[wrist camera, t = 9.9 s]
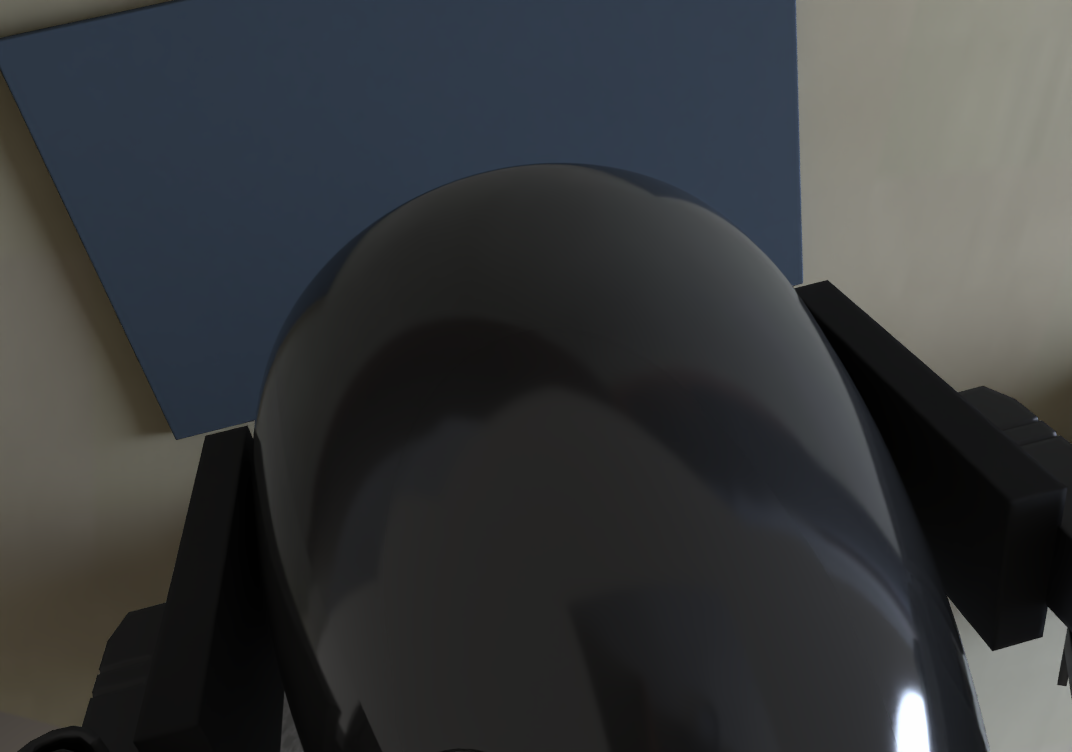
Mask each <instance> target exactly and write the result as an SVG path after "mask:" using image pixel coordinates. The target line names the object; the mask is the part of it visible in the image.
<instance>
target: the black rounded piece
mask: <svg viewBox="0 0 1072 752" xmlns="http://www.w3.org/2000/svg"><path fill="white" fill-rule="evenodd" d="M252 480H253V498H254V512H255V524H256V535H257V545H258V554H259V563H260V571H261V578H262V586H263V593H264V599H265V605H266V611H267V617H268V622H269V627H270V632H271V637H272V642H273V646H274V651H275V655H276V660H277V664H278V668H279V672H280V676H281V680H282V683H283V687H284V691H285V694H286V698H287V701H288V705H289V708H290V712H291V715H292V719H293V722H294V725H295V729H296V732H297V735H298V738H299V741H300V744H301V747H302V751H303V752H990V747H989V743H988V738H987V734H986V730H985V725H984V721H983V717H982V713H981V709H980V705H979V701H978V697H977V693H976V690H975V686H974V682H973V678H972V675H971V671H970V668H969V664H968V661H967V657H966V654H965V651H964V647H963V644H962V641H961V638H960V634H959V631H958V628H957V625H956V622H955V619H954V616H953V613H952V610H951V607H950V604H949V601H948V598H947V595H946V593H945V590H944V587H943V584H942V581H941V579H940V576H939V573H938V570H937V568H936V565H935V562H934V559H933V557H932V554H931V552H930V549H929V546H928V544H927V541H926V539H925V536H924V533H923V531H922V528H921V526H920V523H919V521H918V518H917V516H916V513H915V511H914V508H913V506H912V503H911V501H910V498H909V496H908V494H907V491H906V489H905V486H904V484H903V482H902V479H901V477H900V475H899V472H898V470H897V468H896V466H895V463H894V461H893V459H892V457H891V455H890V453H889V450H888V448H887V446H886V444H885V442H884V440H883V438H882V436H881V434H880V432H879V430H878V427H877V425H876V423H875V421H874V419H873V417H872V415H871V413H870V412H869V410H868V408H867V406H866V404H865V402H864V400H863V399H862V397H861V395H860V393H859V391H858V389H857V388H856V386H855V384H854V382H853V381H852V379H851V377H850V375H849V374H848V372H847V370H846V368H845V367H844V365H843V363H842V362H841V360H840V358H839V357H838V355H837V353H836V352H835V350H834V349H833V347H832V345H831V344H830V342H829V340H828V339H827V337H826V336H825V334H824V333H823V331H822V329H821V328H820V326H819V325H818V323H817V322H816V320H815V319H814V317H813V315H812V314H811V312H810V311H809V309H808V308H807V306H806V305H805V303H804V302H803V300H802V299H801V297H800V296H799V295H798V293H797V292H796V290H795V289H794V288H793V286H792V285H791V284H790V282H789V281H788V280H787V278H786V277H785V276H784V275H783V273H782V272H781V271H780V270H779V269H778V267H777V266H776V265H775V264H774V263H773V262H772V260H771V259H770V258H769V257H768V256H767V255H766V254H765V253H764V252H763V251H762V250H761V249H760V248H759V247H758V245H757V244H756V243H755V242H753V241H752V240H751V239H750V238H749V237H748V236H747V235H746V234H745V233H744V232H743V231H742V230H741V229H740V228H738V227H737V226H736V225H735V224H734V223H733V222H731V221H730V220H729V219H728V218H726V217H725V216H724V215H722V214H721V213H720V212H718V211H717V210H716V209H714V208H713V207H711V206H710V205H708V204H707V203H705V202H703V201H702V200H700V199H698V198H697V197H695V196H693V195H691V194H689V193H688V192H686V191H684V190H682V189H680V188H677V187H675V186H673V185H671V184H668V183H666V182H663V181H661V180H658V179H655V178H653V177H649V176H646V175H643V174H640V173H636V172H632V171H628V170H624V169H619V168H614V167H608V166H601V165H594V164H583V163H537V164H526V165H518V166H511V167H505V168H500V169H495V170H490V171H486V172H482V173H478V174H474V175H471V176H468V177H465V178H461V179H458V180H455V181H453V182H450V183H447V184H444V185H442V186H439V187H437V188H435V189H432V190H430V191H427V192H425V193H423V194H421V195H419V196H417V197H415V198H413V199H411V200H409V201H407V202H405V203H403V204H402V205H400V206H398V207H397V208H395V209H393V210H392V211H390V212H388V213H387V214H385V215H384V216H382V217H381V218H379V219H378V220H376V221H375V222H373V223H372V224H371V225H369V226H368V227H366V228H365V229H364V230H362V231H361V232H360V233H359V234H357V235H356V236H355V237H354V238H353V239H351V240H350V241H349V242H348V243H347V244H346V245H345V246H344V247H342V248H341V249H340V250H339V251H338V252H337V253H336V254H335V255H334V256H333V257H332V258H331V259H330V260H329V261H328V262H327V263H326V264H325V265H324V267H323V268H322V269H321V270H320V271H319V272H318V273H317V275H316V276H315V277H314V278H313V279H312V281H311V282H310V283H309V284H308V286H307V287H306V289H305V290H304V291H303V293H302V294H301V295H300V297H299V299H298V300H297V302H296V303H295V305H294V306H293V308H292V310H291V311H290V313H289V315H288V316H287V318H286V320H285V322H284V324H283V326H282V328H281V330H280V332H279V334H278V336H277V339H276V341H275V343H274V346H273V348H272V351H271V354H270V356H269V359H268V362H267V365H266V369H265V372H264V376H263V380H262V384H261V388H260V393H259V399H258V404H257V410H256V418H255V427H254V437H253V453H252Z"/></svg>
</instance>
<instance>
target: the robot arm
mask: <svg viewBox="0 0 1072 752" xmlns="http://www.w3.org/2000/svg"><path fill="white" fill-rule="evenodd" d="M794 289H795V290H796V292H797V293H798V295H799V296H800V297H801V299H802V300H803V302H804V303H805V305H806V306H807V308H808V309H809V311H810V312H811V314H812V315H813V317H814V319H815V320H816V322H817V323H818V325H819V326H820V328H821V329H822V331H823V333H824V334H825V336H826V337H827V339H828V340H829V342H830V344H831V345H832V347H833V349H834V350H835V352H836V353H837V355H838V357H839V358H840V360H841V362H842V363H843V365H844V367H845V368H846V370H847V372H848V374H849V375H850V377H851V379H852V381H853V382H854V384H855V386H856V388H857V389H858V391H859V393H860V395H861V397H862V399H863V400H864V402H865V404H866V406H867V408H868V410H869V412H870V413H871V415H872V417H873V419H874V421H875V423H876V425H877V427H878V430H879V432H880V434H881V436H882V438H883V440H884V442H885V444H886V446H887V448H888V450H889V453H890V455H891V457H892V459H893V461H894V463H895V466H896V468H897V470H898V472H899V475H900V477H901V479H902V482H903V484H904V486H905V489H906V491H907V494H908V496H909V498H910V501H911V503H912V506H913V508H914V511H915V513H916V516H917V518H918V521H919V523H920V526H921V528H922V531H923V533H924V536H925V539H926V541H927V544H928V546H929V549H930V552H931V554H932V557H933V559H934V562H935V565H936V568H937V570H938V573H939V576H940V579H941V581H942V584H943V587H944V590H945V593H946V595H947V596H948V597H949V599H950V600H951V601H952V602H953V604H954V605H955V606H956V607H957V608H958V610H959V611H960V612H961V613H962V615H963V616H964V617H965V618H966V619H967V621H968V622H969V623H970V624H971V625H972V627H973V628H974V629H975V630H976V632H977V633H978V634H979V635H980V636H981V638H982V639H983V640H984V641H985V642H986V644H987V645H988V646H989V647H990V649H991V650H992V651H994V650H998V649H1002V648H1005V647H1009V646H1012V645H1016V644H1019V643H1023V642H1026V641H1030V640H1033V639H1037V638H1040V637H1043V631H1044V625H1045V619H1046V613H1047V607H1049V608H1050V609H1051V610H1052V611H1053V612H1054V613H1055V615H1056V616H1057V617H1058V618H1059V619H1060V620H1061V621H1062V622H1063V623H1064V624H1065V625H1066V626H1067V627H1068V628H1067V634H1066V639H1065V644H1064V650H1063V655H1062V660H1061V666H1060V671H1059V677H1058V684H1057V685H1062V686H1067V681H1068V677H1069V684H1070V691H1071V698H1072V444H1071V443H1069V442H1068V441H1067V440H1066V439H1064V438H1063V437H1062V436H1057V434H1056V431H1054V430H1053V429H1052V428H1051V427H1049V426H1048V425H1047V424H1046V423H1044V422H1043V421H1039V420H1038V417H1037V416H1036V415H1034V414H1033V413H1032V412H1031V411H1029V410H1028V409H1027V408H1026V407H1024V406H1023V405H1022V404H1021V403H1019V402H1018V401H1017V400H1016V399H1014V398H1012V397H1009V396H1007V395H1004V394H1002V393H999V392H997V391H994V390H992V389H989V388H987V387H985V386H981V387H977V388H973V389H969V390H965V391H961V392H957V391H955V390H954V389H953V388H952V387H951V386H950V385H949V384H947V383H946V382H945V381H944V380H943V379H942V378H940V377H939V376H938V375H937V374H936V373H935V372H933V371H932V370H931V369H930V368H929V367H928V366H927V365H925V364H924V363H923V362H922V361H921V360H920V359H918V358H917V357H916V356H915V355H914V354H913V353H911V352H910V351H909V350H908V349H907V348H906V347H905V346H903V345H902V344H901V343H900V342H899V341H898V340H896V339H895V338H894V337H893V336H892V335H891V334H889V333H888V332H887V331H886V330H885V329H884V328H883V327H881V326H880V325H879V324H878V323H877V322H876V321H874V320H873V319H872V318H871V317H870V316H869V315H868V314H866V313H865V312H864V311H863V310H862V309H861V308H859V307H858V306H857V305H856V304H855V303H854V302H852V301H851V300H850V299H849V298H848V297H847V296H846V295H844V294H843V293H842V292H841V291H840V290H839V289H837V288H836V287H835V286H834V285H833V284H832V283H830V282H829V281H828V280H826V281H822V282H818V283H814V284H810V285H806V286H802V287H798V288H794ZM252 453H253V438H252V436H251V433H250V431H249V429H248V426H244V427H240V428H236V429H232V430H228V431H224V432H220V433H216V434H212V435H208V436H205V440H204V444H203V448H202V453H201V457H200V461H199V465H198V470H197V474H196V478H195V482H194V486H193V491H192V495H191V499H190V503H189V508H188V512H187V516H186V520H185V525H184V529H183V533H182V537H181V541H180V546H179V550H178V554H177V558H176V563H175V567H174V571H173V575H172V579H171V584H170V588H169V592H168V596H167V601H166V603H163V604H159V605H155V606H151V607H147V608H144V609H140V610H136V611H132V612H128V614H127V615H126V617H125V618H124V619H123V621H122V622H121V623H120V625H119V626H118V627H117V629H116V630H115V631H114V633H113V634H112V636H111V637H110V638H109V640H108V641H107V644H106V648H105V651H104V654H103V658H102V661H101V664H100V668H99V670H100V674H99V675H97V678H96V681H95V684H94V688H93V691H92V693H93V698H90V701H89V704H88V708H87V711H86V714H85V718H84V721H83V724H82V727H79V726H69V727H65V728H61V729H56V730H52V731H50V732H48V733H46V734H44V735H42V736H40V737H38V738H37V739H34V740H32V741H30V742H29V743H28V744H26V745H25V746H24V747H23V748H21V749H20V750H19V751H18V752H280V748H281V734H282V719H283V705H284V687H283V683H282V680H281V676H280V672H279V668H278V664H277V660H276V655H275V651H274V646H273V642H272V637H271V632H270V627H269V622H268V617H267V611H266V605H265V599H264V593H263V586H262V578H261V571H260V563H259V554H258V545H257V535H256V524H255V512H254V498H253V480H252Z"/></svg>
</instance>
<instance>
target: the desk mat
mask: <svg viewBox="0 0 1072 752" xmlns="http://www.w3.org/2000/svg"><path fill="white" fill-rule="evenodd" d="M0 70H1V72H2V74H3V76H4V79H5V81H6V83H7V85H8V87H9V89H10V91H11V93H12V95H13V97H14V100H15V102H16V104H17V106H18V108H19V110H20V112H21V114H22V116H23V119H24V121H25V123H26V125H27V127H28V129H29V131H30V133H31V135H32V138H33V140H34V142H35V144H36V146H37V148H38V150H39V152H40V154H41V156H42V159H43V161H44V163H45V165H46V167H47V169H48V171H49V173H50V175H51V178H52V180H53V182H54V184H55V186H56V188H57V190H58V192H59V194H60V197H61V199H62V201H63V203H64V205H65V207H66V209H67V211H68V213H69V215H70V218H71V220H72V222H73V224H74V226H75V228H76V230H77V232H78V234H79V237H80V239H81V241H82V243H83V245H84V247H85V249H86V251H87V253H88V255H89V258H90V260H91V262H92V264H93V266H94V268H95V270H96V272H97V274H98V277H99V279H100V281H101V283H102V285H103V287H104V289H105V291H106V293H107V296H108V298H109V300H110V302H111V304H112V306H113V308H114V310H115V312H116V314H117V317H118V319H119V321H120V323H121V325H122V327H123V329H124V331H125V333H126V336H127V338H128V340H129V342H130V344H131V346H132V348H133V350H134V352H135V355H136V357H137V359H138V361H139V363H140V365H141V367H142V369H143V371H144V373H145V376H146V378H147V380H148V382H149V384H150V386H151V388H152V390H153V392H154V395H155V397H156V399H157V401H158V403H159V405H160V407H161V409H162V411H163V414H164V416H165V418H166V420H167V422H168V424H169V426H170V428H171V430H172V432H173V435H174V437H175V439H176V440H178V439H182V438H186V437H190V436H194V435H198V434H202V433H206V432H210V431H214V430H218V429H222V428H226V427H230V426H234V425H238V424H242V423H246V422H250V421H254V420H255V418H256V410H257V404H258V399H259V393H260V388H261V384H262V380H263V376H264V372H265V369H266V365H267V362H268V359H269V356H270V354H271V351H272V348H273V346H274V343H275V341H276V339H277V336H278V334H279V332H280V330H281V328H282V326H283V324H284V322H285V320H286V318H287V316H288V315H289V313H290V311H291V310H292V308H293V306H294V305H295V303H296V302H297V300H298V299H299V297H300V295H301V294H302V293H303V291H304V290H305V289H306V287H307V286H308V284H309V283H310V282H311V281H312V279H313V278H314V277H315V276H316V275H317V273H318V272H319V271H320V270H321V269H322V268H323V267H324V265H325V264H326V263H327V262H328V261H329V260H330V259H331V258H332V257H333V256H334V255H335V254H336V253H337V252H338V251H339V250H340V249H341V248H342V247H344V246H345V245H346V244H347V243H348V242H349V241H350V240H351V239H353V238H354V237H355V236H356V235H357V234H359V233H360V232H361V231H362V230H364V229H365V228H366V227H368V226H369V225H371V224H372V223H373V222H375V221H376V220H378V219H379V218H381V217H382V216H384V215H385V214H387V213H388V212H390V211H392V210H393V209H395V208H397V207H398V206H400V205H402V204H403V203H405V202H407V201H409V200H411V199H413V198H415V197H417V196H419V195H421V194H423V193H425V192H427V191H430V190H432V189H435V188H437V187H439V186H442V185H444V184H447V183H450V182H453V181H455V180H458V179H461V178H465V177H468V176H471V175H474V174H478V173H482V172H486V171H490V170H495V169H500V168H505V167H511V166H518V165H526V164H537V163H583V164H594V165H601V166H608V167H614V168H619V169H624V170H628V171H632V172H636V173H640V174H643V175H646V176H649V177H653V178H655V179H658V180H661V181H663V182H666V183H668V184H671V185H673V186H675V187H677V188H680V189H682V190H684V191H686V192H688V193H689V194H691V195H693V196H695V197H697V198H698V199H700V200H702V201H703V202H705V203H707V204H708V205H710V206H711V207H713V208H714V209H716V210H717V211H718V212H720V213H721V214H722V215H724V216H725V217H726V218H728V219H729V220H730V221H731V222H733V223H734V224H735V225H736V226H737V227H738V228H740V229H741V230H742V231H743V232H744V233H745V234H746V235H747V236H748V237H749V238H750V239H751V240H752V241H753V242H755V243H756V244H757V245H758V247H759V248H760V249H761V250H762V251H763V252H764V253H765V254H766V255H767V256H768V257H769V258H770V259H771V260H772V262H773V263H774V264H775V265H776V266H777V267H778V269H779V270H780V271H781V272H782V273H783V275H784V276H785V277H786V278H787V280H788V281H789V282H790V284H791V285H792V286H794V285H798V284H802V283H803V264H802V226H801V187H800V148H799V109H798V71H797V32H796V0H173V1H168V2H164V3H159V4H155V5H150V6H145V7H141V8H136V9H132V10H127V11H122V12H118V13H113V14H108V15H104V16H99V17H95V18H90V19H85V20H81V21H76V22H72V23H67V24H62V25H58V26H53V27H48V28H44V29H39V30H35V31H30V32H25V33H21V34H16V35H12V36H7V37H2V38H0Z"/></svg>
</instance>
